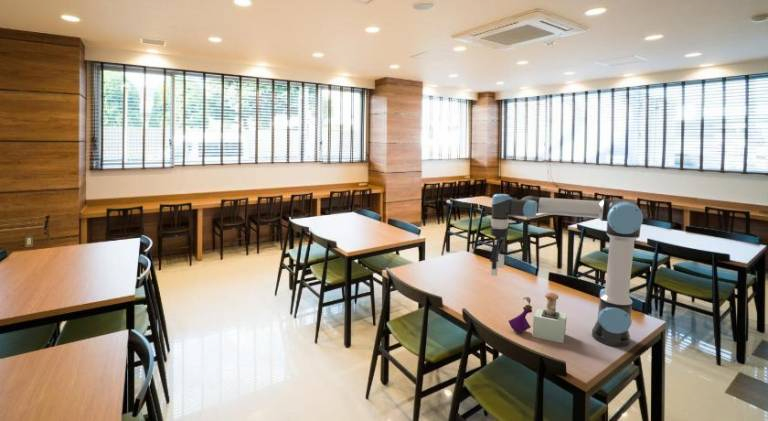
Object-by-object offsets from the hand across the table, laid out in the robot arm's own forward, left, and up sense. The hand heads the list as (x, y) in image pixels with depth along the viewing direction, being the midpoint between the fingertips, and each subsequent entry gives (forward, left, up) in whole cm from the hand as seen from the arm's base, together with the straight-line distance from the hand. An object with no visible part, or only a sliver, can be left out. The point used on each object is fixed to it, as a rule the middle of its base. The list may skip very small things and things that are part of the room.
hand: (497, 271), depth 189 cm
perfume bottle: (-10, -1, -28) cm, 30 cm away
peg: (-24, -3, -18) cm, 30 cm away
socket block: (-24, -3, -28) cm, 37 cm away
